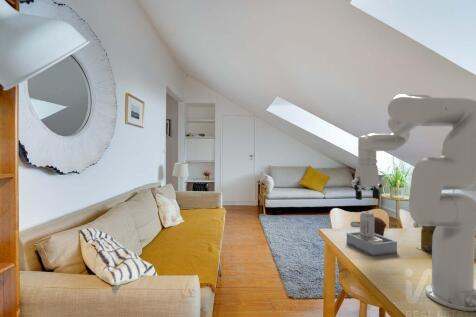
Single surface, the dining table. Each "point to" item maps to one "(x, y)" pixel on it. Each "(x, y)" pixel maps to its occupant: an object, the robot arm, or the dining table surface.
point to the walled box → (372, 244)
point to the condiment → (427, 238)
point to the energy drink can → (367, 226)
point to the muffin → (379, 226)
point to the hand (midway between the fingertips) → (367, 198)
